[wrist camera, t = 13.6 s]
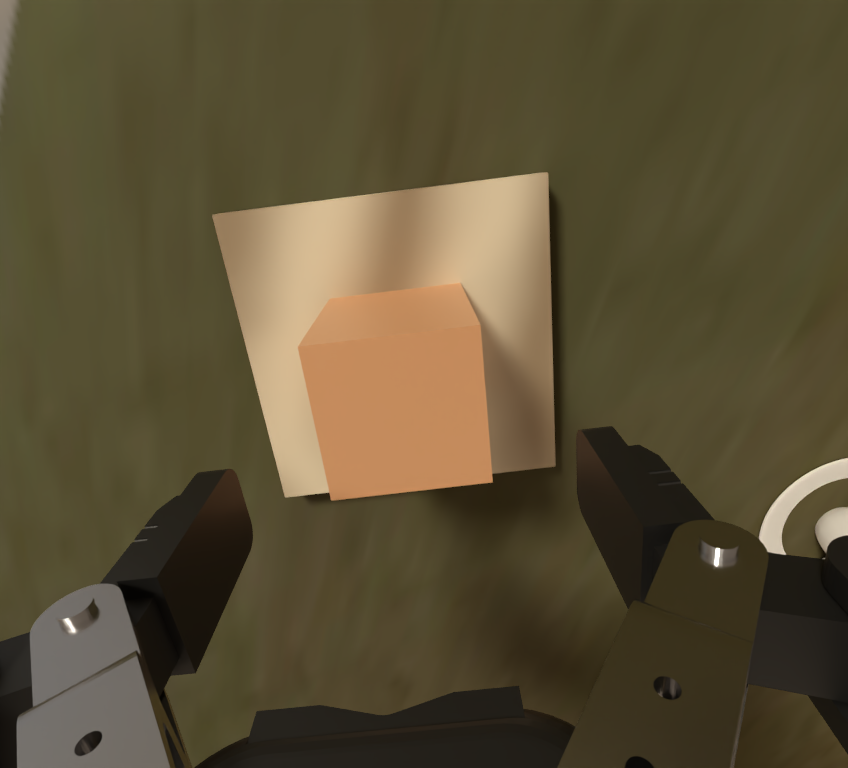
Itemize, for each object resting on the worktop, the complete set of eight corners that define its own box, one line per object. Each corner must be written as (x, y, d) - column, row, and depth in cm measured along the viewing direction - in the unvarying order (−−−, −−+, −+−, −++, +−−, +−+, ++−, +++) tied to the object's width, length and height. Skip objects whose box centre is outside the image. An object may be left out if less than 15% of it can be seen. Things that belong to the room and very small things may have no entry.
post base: (540, 172, 19) (583, 171, 14) (548, 452, 24) (584, 523, 19) (223, 212, 19) (161, 224, 15) (291, 482, 24) (260, 559, 19)
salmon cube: (460, 282, 19) (480, 324, 14) (471, 402, 21) (492, 482, 16) (329, 298, 20) (297, 346, 14) (351, 416, 21) (331, 500, 16)
